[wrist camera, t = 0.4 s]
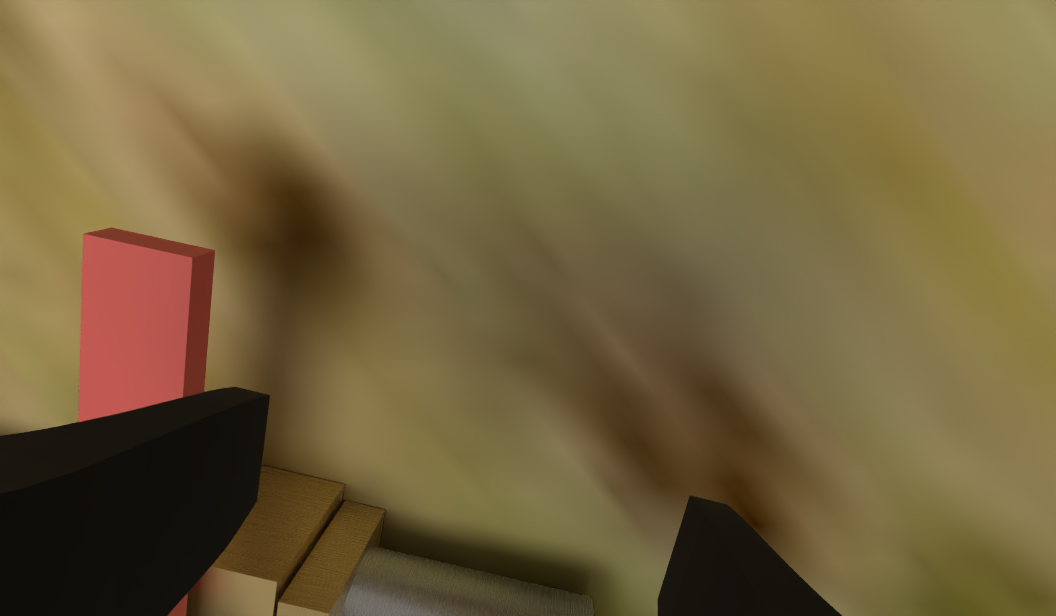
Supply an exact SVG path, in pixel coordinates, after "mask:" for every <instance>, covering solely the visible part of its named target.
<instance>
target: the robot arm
mask: <svg viewBox="0 0 1056 616" xmlns="http://www.w3.org/2000/svg"><path fill="white" fill-rule="evenodd" d="M269 399H270V395H267V394H263V393H259V392H254V391H250V390H246V389H242V388H238V387H230V388H223V389H217V390H212V391H207V392H203V393H199V394H194V395H190V396H186V397H182V398H178V399H174V400H170V401H166V402H162V403H158V404H154V405H150V406H146V407H142V408H138V409H135V410H131V411H126V412H122V413H118V414H113V415H109V416H104V417H100V418H95V419H90V420H86V421H81V422H77V423H72V424H67V425H63V426H58V427H53V428H48V429H42V430H36V431H31V432H25V433H19V434H12V435H4V436H0V616H168V614H169V613H170V612H171V611H172V610H173V609H174V608H175V607H176V605H177V604H178V603H179V602H180V601H181V600H182V599H183V598H184V596H185V595H186V594H187V593H188V592H189V591H190V590H191V589H192V587H193V586H194V585H195V584H196V583H197V582H198V581H199V579H200V578H201V577H202V576H203V575H204V574H205V572H206V571H207V570H208V569H209V568H210V567H211V566H212V564H213V563H214V562H215V561H216V560H217V559H218V557H219V556H220V555H221V554H222V553H223V552H224V550H225V549H226V548H227V546H228V545H229V543H230V542H231V540H232V539H233V538H234V536H235V535H236V533H237V532H238V530H239V529H240V527H241V526H242V524H243V523H244V521H245V519H246V518H247V516H248V515H249V513H250V512H251V510H252V508H253V507H254V505H255V504H256V502H257V497H258V489H259V481H260V473H261V464H262V456H263V448H264V440H265V432H266V423H267V415H268V407H269ZM658 616H842V615H841V614H840V613H839V612H837V611H836V610H835V609H834V608H833V607H832V606H831V605H830V604H829V603H827V602H826V601H825V600H824V599H823V598H822V597H821V596H820V595H819V594H818V593H817V592H816V591H814V590H813V589H812V588H811V587H810V586H809V585H808V584H807V583H806V582H805V581H804V580H803V579H802V578H801V577H800V576H799V575H798V574H797V573H796V572H795V571H794V570H793V569H792V568H791V567H790V566H789V565H788V564H787V563H786V562H785V561H784V560H783V559H782V558H781V557H780V556H779V555H778V554H777V553H776V552H775V551H774V550H773V549H772V548H771V547H770V546H769V545H768V544H767V543H766V542H765V541H764V540H763V539H762V538H761V537H760V536H759V535H758V533H757V532H756V531H755V530H754V529H753V528H752V527H751V526H750V525H749V524H748V523H747V522H746V521H745V520H744V519H743V518H742V517H741V516H739V515H738V514H737V513H736V512H735V511H734V510H733V509H732V508H730V507H729V506H728V505H727V504H723V503H719V502H715V501H711V500H707V499H702V498H698V497H694V496H690V497H689V500H688V503H687V506H686V510H685V513H684V516H683V519H682V523H681V526H680V529H679V532H678V535H677V539H676V542H675V545H674V548H673V552H672V555H671V558H670V561H669V564H668V568H667V571H666V574H665V577H664V580H663V584H662V587H661V590H660V593H659V597H658Z"/></svg>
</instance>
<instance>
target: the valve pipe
mask: <svg viewBox="0 0 1056 616" xmlns="http://www.w3.org/2000/svg"><path fill="white" fill-rule="evenodd" d="M344 485H345V484H341V483H336V482H332V481H328V480H323V479H319V478H315V477H310V476H306V475H302V474H297V473H293V472H289V471H284V470H280V469H276V468H271V467H267V466H263V465H261V473H260V481H259V489H258V497H257V502H256V504H255V505H254V507H253V508H252V510H251V512H250V513H249V515H248V516H247V518H246V519H245V521H244V523H243V524H242V526H241V527H240V529H239V530H238V532H237V533H236V535H235V536H234V538H233V539H232V540H231V542H230V543H229V545H228V546H227V548H226V549H225V550H224V552H223V553H222V554H221V555H220V556H219V557H218V559H217V560H216V561H215V562H214V563H213V564H212V566H211V567H210V568H209V569H208V570H207V571H206V572H205V574H204V575H203V576H202V577H201V578H200V579H199V581H198V582H197V583H196V584H195V585H194V586H193V587H192V589H191V590H190V591H189V592H188V598H187V611H186V616H594V603H593V599H592V597H590V596H586V595H581V594H577V593H573V592H568V591H564V590H560V589H556V588H551V587H547V586H543V585H538V584H534V583H530V582H526V581H521V580H517V579H513V578H508V577H504V576H500V575H496V574H491V573H487V572H483V571H478V570H474V569H470V568H466V567H461V566H457V565H453V564H448V563H444V562H440V561H436V560H431V559H427V558H423V557H418V556H414V555H410V554H405V553H401V552H397V551H393V550H388V549H384V548H380V547H379V545H380V539H381V533H382V526H383V520H384V514H385V510H384V509H380V508H375V507H371V506H367V505H362V504H358V503H354V502H349V501H345V502H344V503H343V505H342V499H343V492H344Z"/></svg>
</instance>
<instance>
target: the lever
mask: <svg viewBox="0 0 1056 616" xmlns="http://www.w3.org/2000/svg"><path fill="white" fill-rule="evenodd" d="M214 257H215V250H211V249H207V248H202V247H197V246H193V245H188V244H184V243H179V242H175V241H170V240H166V239H161V238H156V237H152V236H147V235H143V234H138V233H134V232H129V231H125V230H120V229H115V228H108V229H103V230H99V231H94V232H89V233H85V234H83V263H82V301H81V338H80V376H79V413H78V422H81V421H86V420H90V419H95V418H100V417H104V416H109V415H113V414H118V413H122V412H126V411H131V410H135V409H138V408H142V407H146V406H150V405H154V404H158V403H162V402H166V401H170V400H174V399H178V398H182V397H186V396H190V395H194V394H199V393H203V392H204V384H205V371H206V358H207V346H208V333H209V321H210V308H211V295H212V283H213V270H214ZM187 598H188V593H187V594H186V595H185V596H184V598H183V599H182V600H181V601H180V602H179V603H178V604H177V605H176V607H175V608H174V609H173V610H172V611H171V612H170V613H169V614H168V616H186V611H187Z"/></svg>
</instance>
